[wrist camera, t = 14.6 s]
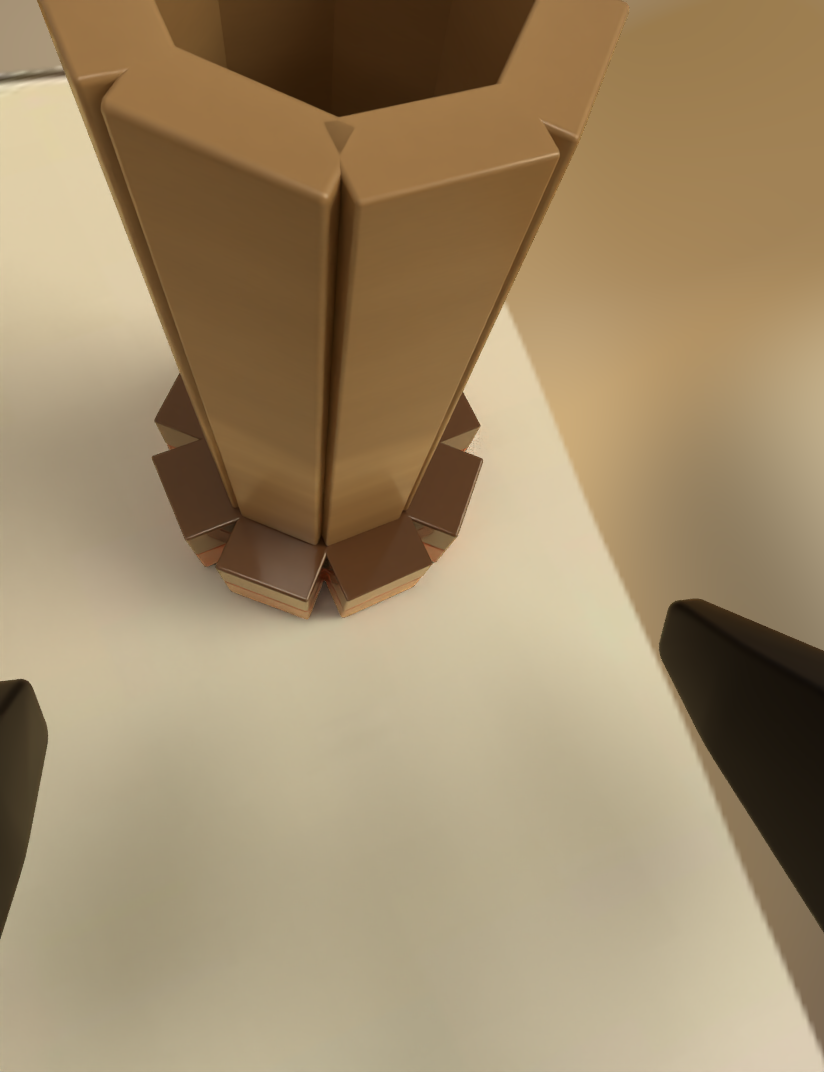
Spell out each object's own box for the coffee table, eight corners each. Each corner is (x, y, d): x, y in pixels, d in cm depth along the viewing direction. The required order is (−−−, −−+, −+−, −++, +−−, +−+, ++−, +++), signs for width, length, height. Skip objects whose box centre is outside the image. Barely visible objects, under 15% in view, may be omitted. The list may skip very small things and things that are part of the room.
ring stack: (487, 416, 22) (514, 369, 19) (404, 656, 20) (421, 645, 17) (249, 322, 22) (239, 260, 19) (130, 554, 19) (96, 524, 16)
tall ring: (460, 495, 18) (715, 115, 7) (258, 573, 17) (142, 257, 5) (376, 321, 19) (473, -258, 8) (181, 380, 18) (-54, -228, 6)
